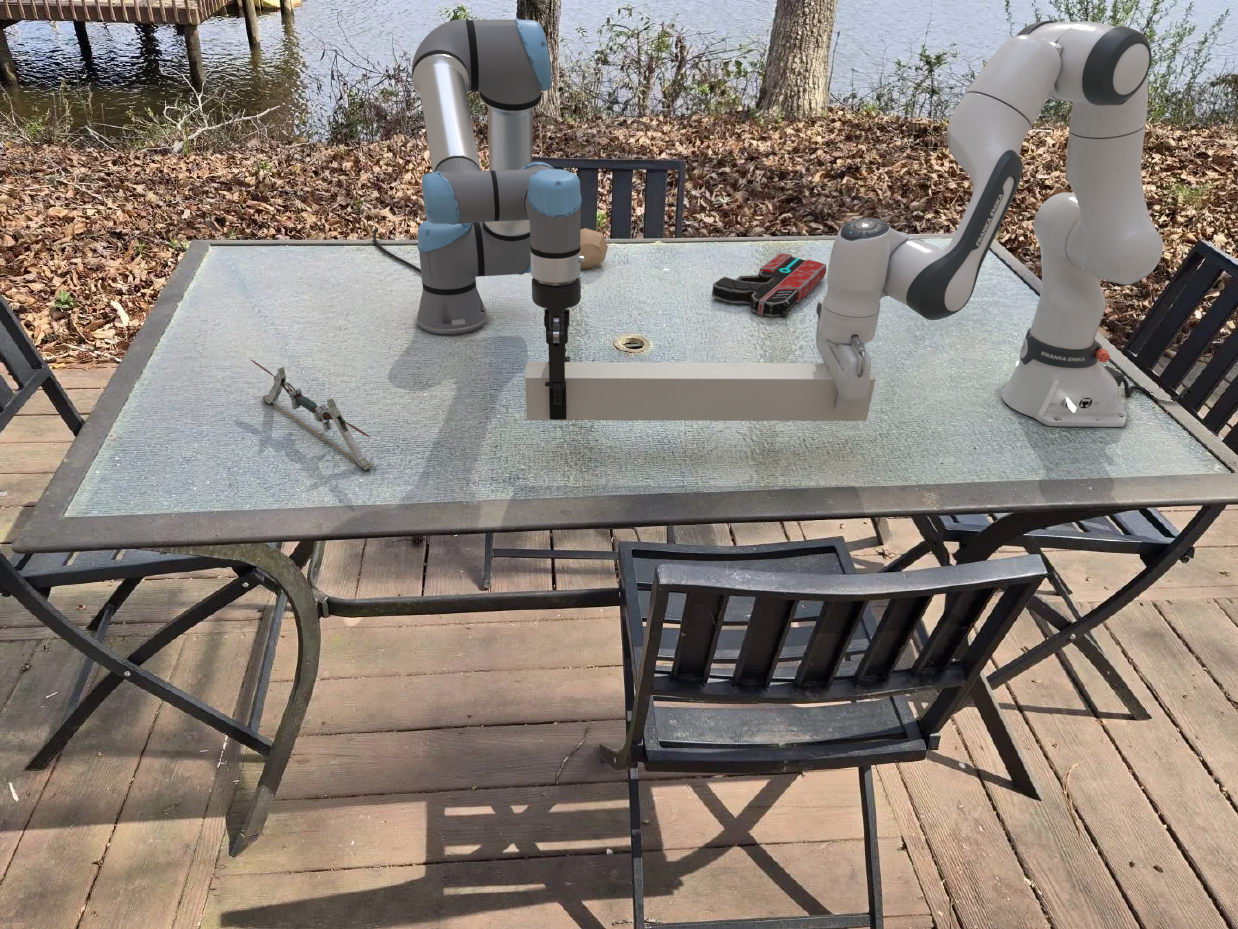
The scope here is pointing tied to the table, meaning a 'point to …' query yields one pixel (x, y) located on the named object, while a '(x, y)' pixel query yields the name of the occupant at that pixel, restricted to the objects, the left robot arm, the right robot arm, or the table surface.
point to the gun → (772, 285)
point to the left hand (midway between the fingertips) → (558, 408)
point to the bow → (316, 413)
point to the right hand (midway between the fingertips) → (834, 398)
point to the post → (693, 392)
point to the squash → (592, 248)
